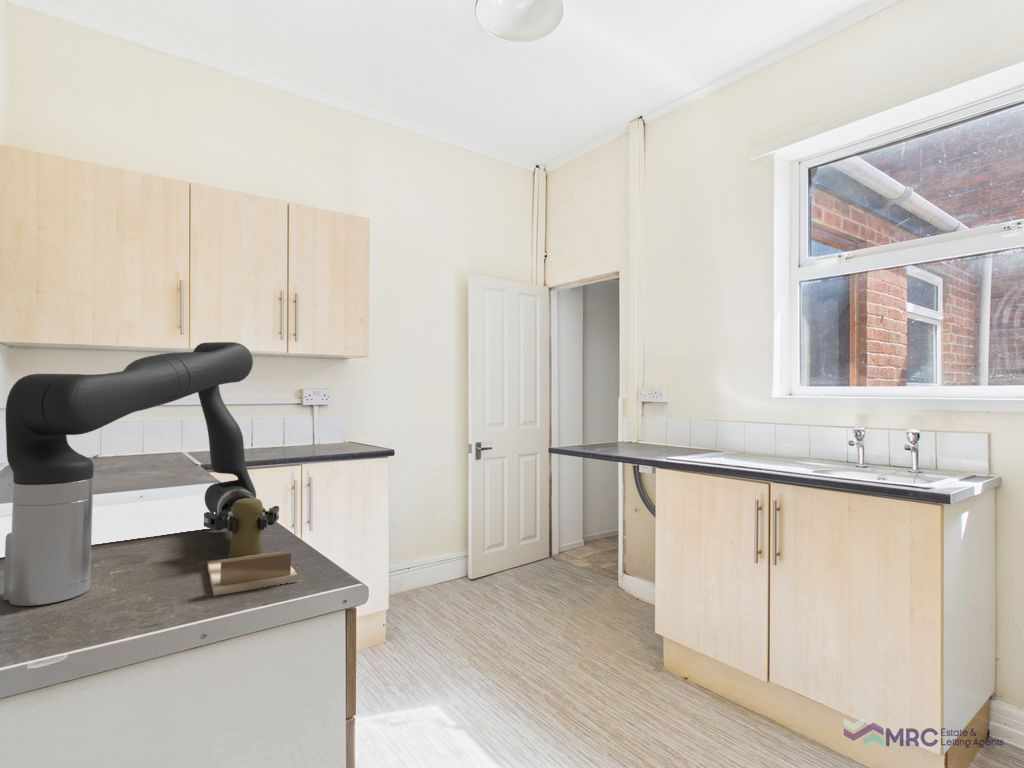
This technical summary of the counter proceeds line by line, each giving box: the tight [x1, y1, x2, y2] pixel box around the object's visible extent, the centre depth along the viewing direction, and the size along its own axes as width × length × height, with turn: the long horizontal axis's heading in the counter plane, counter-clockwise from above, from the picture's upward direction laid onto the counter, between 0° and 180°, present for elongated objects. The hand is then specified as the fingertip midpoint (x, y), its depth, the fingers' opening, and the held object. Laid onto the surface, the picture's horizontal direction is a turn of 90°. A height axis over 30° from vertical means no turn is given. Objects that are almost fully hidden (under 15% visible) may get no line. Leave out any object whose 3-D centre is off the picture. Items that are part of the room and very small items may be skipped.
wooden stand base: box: [207, 550, 298, 597], centre depth 91 cm, size 15×12×5 cm
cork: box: [227, 498, 264, 559], centre depth 101 cm, size 6×6×11 cm
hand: (248, 526), depth 98 cm, fingers closed on cork, 4 cm apart
